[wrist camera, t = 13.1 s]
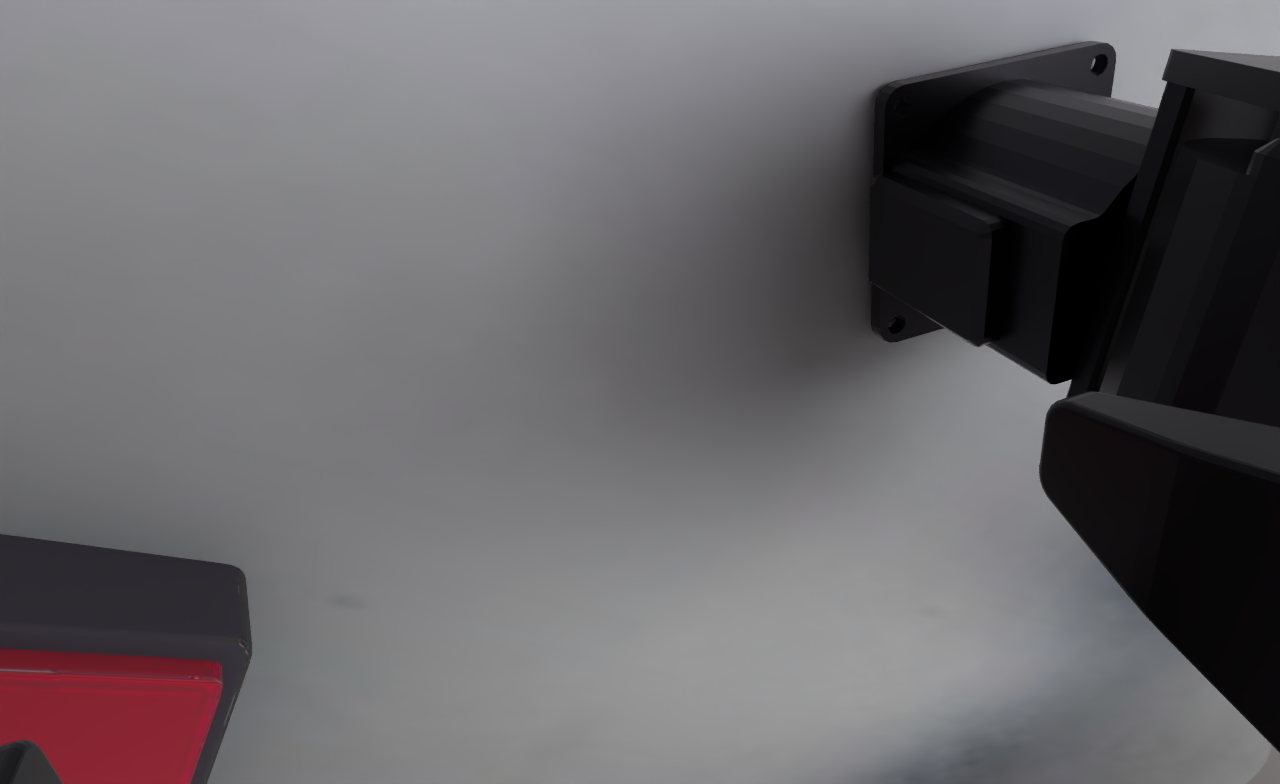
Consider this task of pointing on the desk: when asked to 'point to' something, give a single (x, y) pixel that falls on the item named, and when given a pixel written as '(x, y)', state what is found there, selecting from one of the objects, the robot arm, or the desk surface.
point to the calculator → (119, 659)
